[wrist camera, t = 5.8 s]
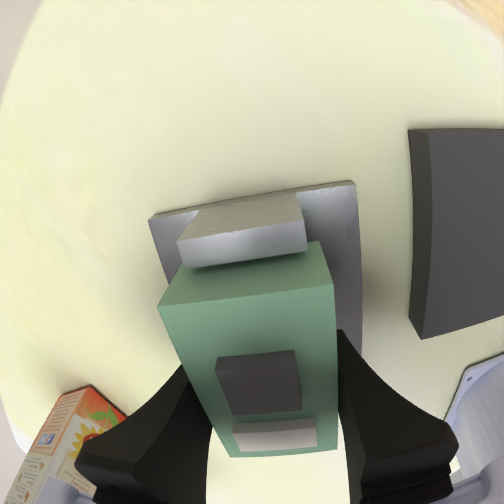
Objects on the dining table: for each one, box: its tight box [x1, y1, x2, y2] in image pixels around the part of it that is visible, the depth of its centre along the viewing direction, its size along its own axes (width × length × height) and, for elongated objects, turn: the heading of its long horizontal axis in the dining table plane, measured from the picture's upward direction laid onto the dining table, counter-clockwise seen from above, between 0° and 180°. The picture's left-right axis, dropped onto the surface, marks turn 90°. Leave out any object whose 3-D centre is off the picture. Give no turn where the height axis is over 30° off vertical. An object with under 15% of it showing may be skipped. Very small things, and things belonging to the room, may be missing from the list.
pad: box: [408, 128, 504, 340], centre depth 12 cm, size 10×7×2 cm
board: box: [157, 241, 338, 457], centre depth 11 cm, size 9×5×4 cm, turn 11°
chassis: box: [148, 181, 362, 355], centre depth 14 cm, size 12×9×4 cm
